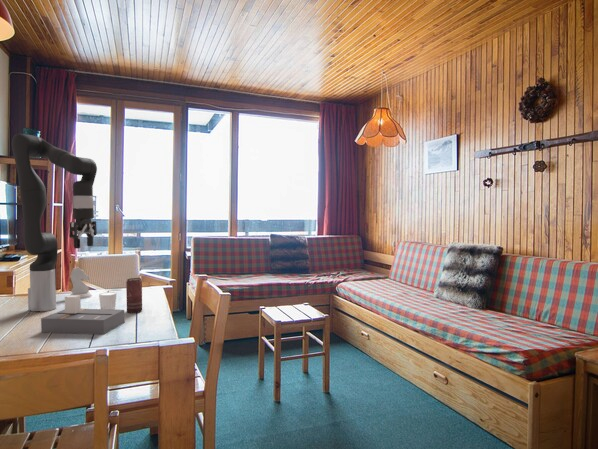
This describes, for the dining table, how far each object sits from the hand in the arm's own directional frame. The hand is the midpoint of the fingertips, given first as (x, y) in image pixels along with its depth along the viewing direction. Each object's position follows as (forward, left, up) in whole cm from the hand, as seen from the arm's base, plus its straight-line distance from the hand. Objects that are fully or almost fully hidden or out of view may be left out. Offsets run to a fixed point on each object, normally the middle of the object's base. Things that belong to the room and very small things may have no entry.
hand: (83, 247), depth 159 cm
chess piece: (-23, +32, -28) cm, 49 cm away
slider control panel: (+10, -15, -28) cm, 33 cm away
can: (+17, +8, -28) cm, 34 cm away
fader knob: (+5, -15, -25) cm, 29 cm away
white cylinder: (+4, +10, -28) cm, 30 cm away
